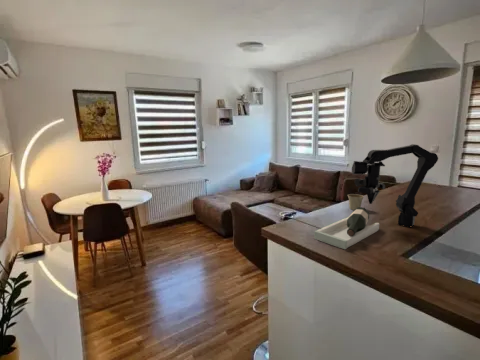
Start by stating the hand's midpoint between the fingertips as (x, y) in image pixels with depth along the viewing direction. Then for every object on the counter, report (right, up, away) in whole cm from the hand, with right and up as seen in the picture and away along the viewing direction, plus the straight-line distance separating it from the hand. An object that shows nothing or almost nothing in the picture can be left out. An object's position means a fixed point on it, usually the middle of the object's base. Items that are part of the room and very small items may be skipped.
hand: (370, 203), depth 142 cm
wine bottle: (-5, -6, 0) cm, 7 cm away
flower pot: (+4, -6, +29) cm, 30 cm away
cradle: (-17, -14, -13) cm, 25 cm away
